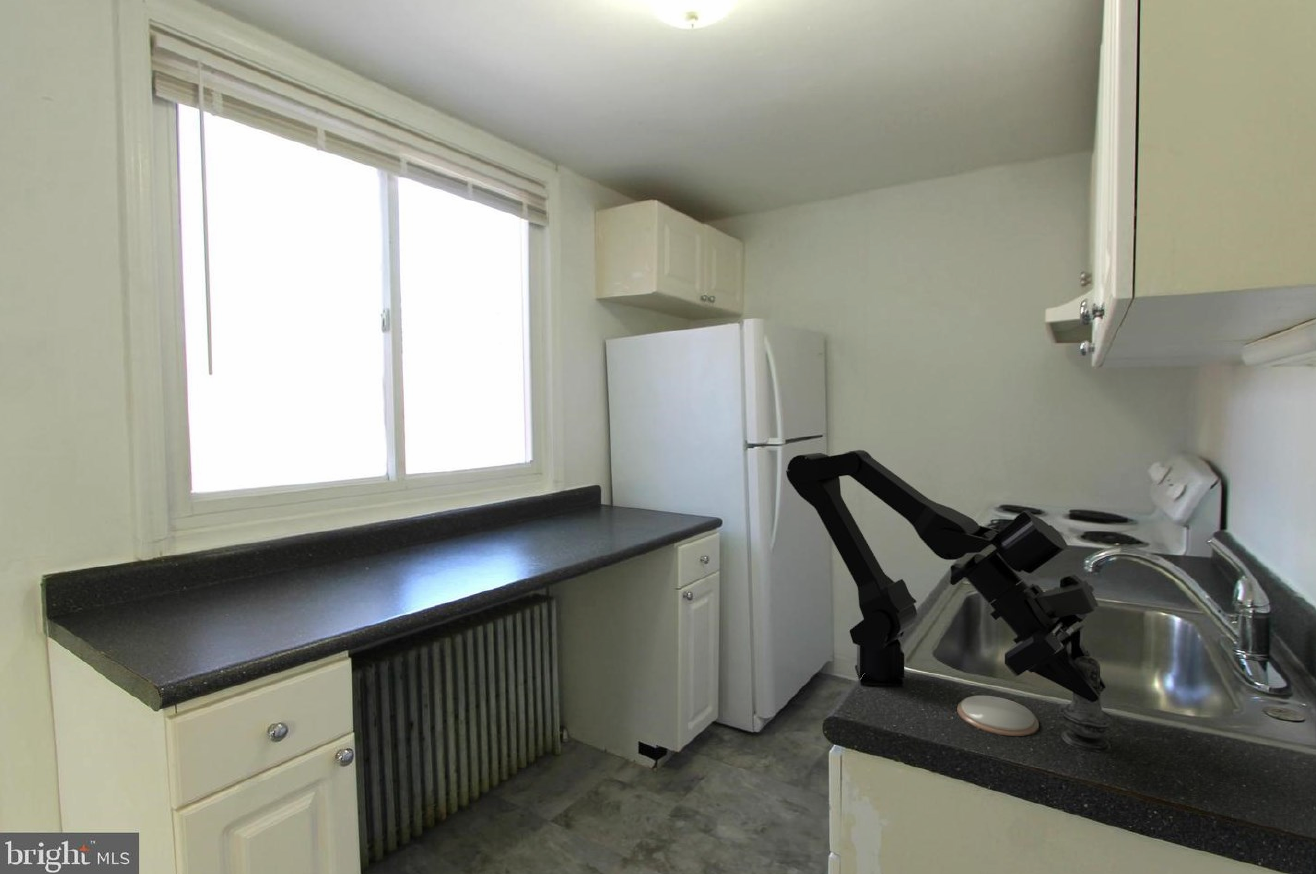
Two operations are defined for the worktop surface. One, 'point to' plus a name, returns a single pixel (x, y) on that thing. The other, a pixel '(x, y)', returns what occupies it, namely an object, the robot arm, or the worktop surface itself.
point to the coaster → (998, 715)
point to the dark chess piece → (1087, 713)
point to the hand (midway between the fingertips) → (1099, 694)
